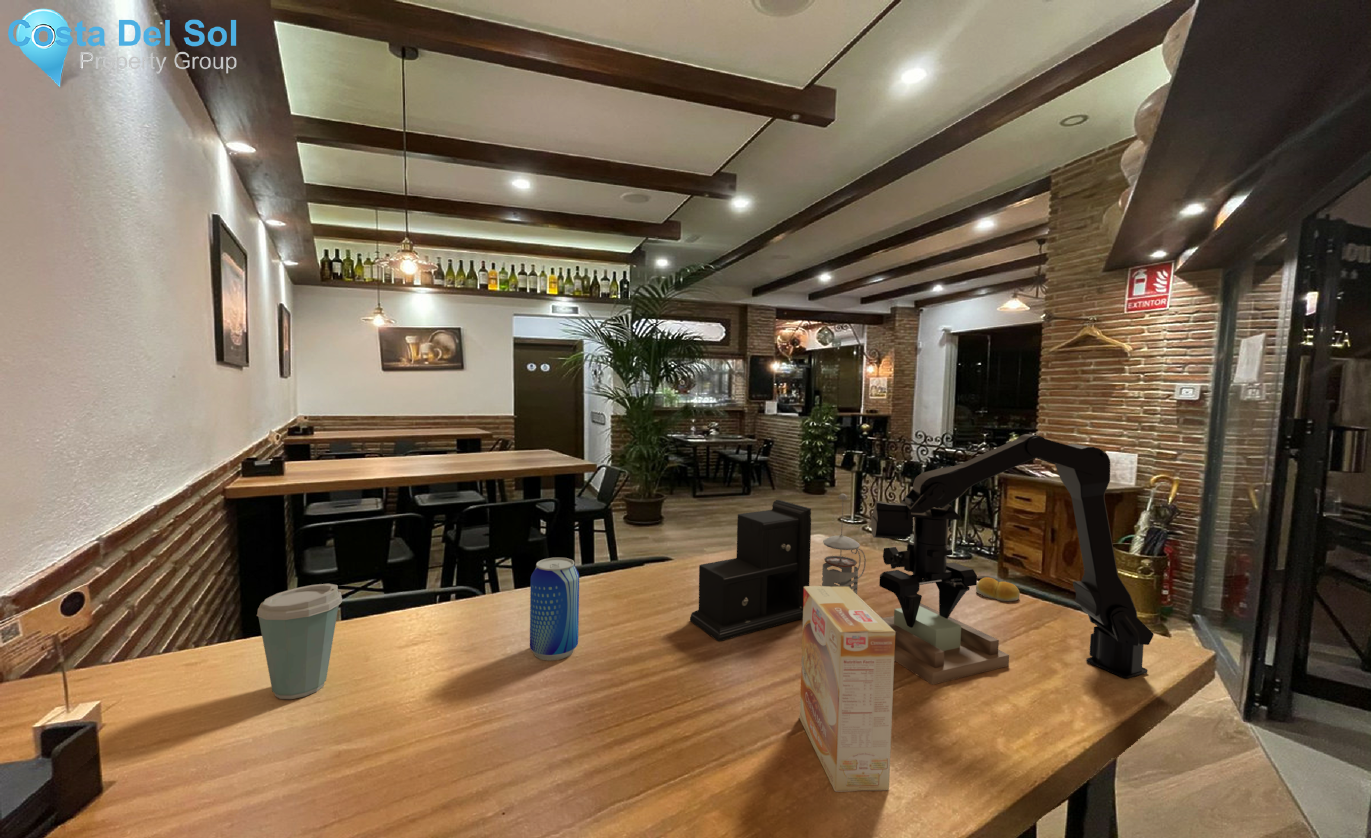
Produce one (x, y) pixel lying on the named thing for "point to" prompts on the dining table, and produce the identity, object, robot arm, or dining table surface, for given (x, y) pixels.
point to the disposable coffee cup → (299, 637)
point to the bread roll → (997, 589)
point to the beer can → (554, 609)
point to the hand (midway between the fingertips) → (926, 623)
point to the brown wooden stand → (947, 654)
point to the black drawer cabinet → (758, 574)
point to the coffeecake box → (847, 687)
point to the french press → (841, 561)
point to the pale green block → (931, 628)
